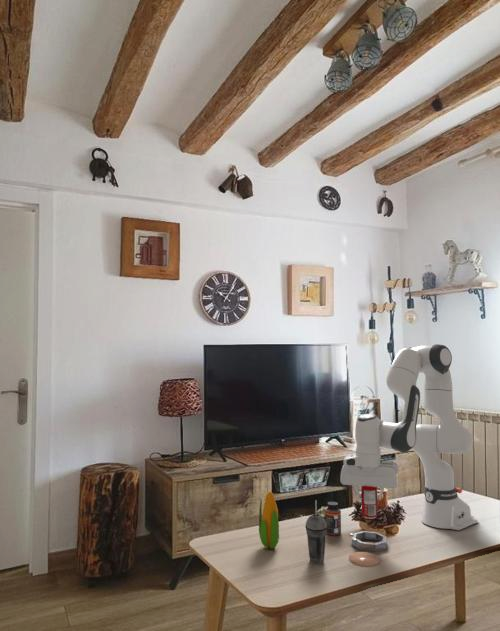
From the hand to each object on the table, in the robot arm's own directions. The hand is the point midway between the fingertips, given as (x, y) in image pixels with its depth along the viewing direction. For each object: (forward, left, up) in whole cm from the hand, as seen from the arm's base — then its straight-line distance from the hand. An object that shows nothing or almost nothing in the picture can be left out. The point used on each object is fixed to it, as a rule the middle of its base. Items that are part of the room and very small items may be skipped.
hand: (369, 498), depth 184 cm
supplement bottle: (+5, -15, -17) cm, 23 cm away
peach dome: (+10, +9, -16) cm, 21 cm away
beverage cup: (+25, +3, -17) cm, 30 cm away
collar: (0, 0, -16) cm, 16 cm away
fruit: (+4, -23, -17) cm, 29 cm away
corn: (+34, -14, -17) cm, 40 cm away
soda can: (0, 0, -7) cm, 7 cm away
